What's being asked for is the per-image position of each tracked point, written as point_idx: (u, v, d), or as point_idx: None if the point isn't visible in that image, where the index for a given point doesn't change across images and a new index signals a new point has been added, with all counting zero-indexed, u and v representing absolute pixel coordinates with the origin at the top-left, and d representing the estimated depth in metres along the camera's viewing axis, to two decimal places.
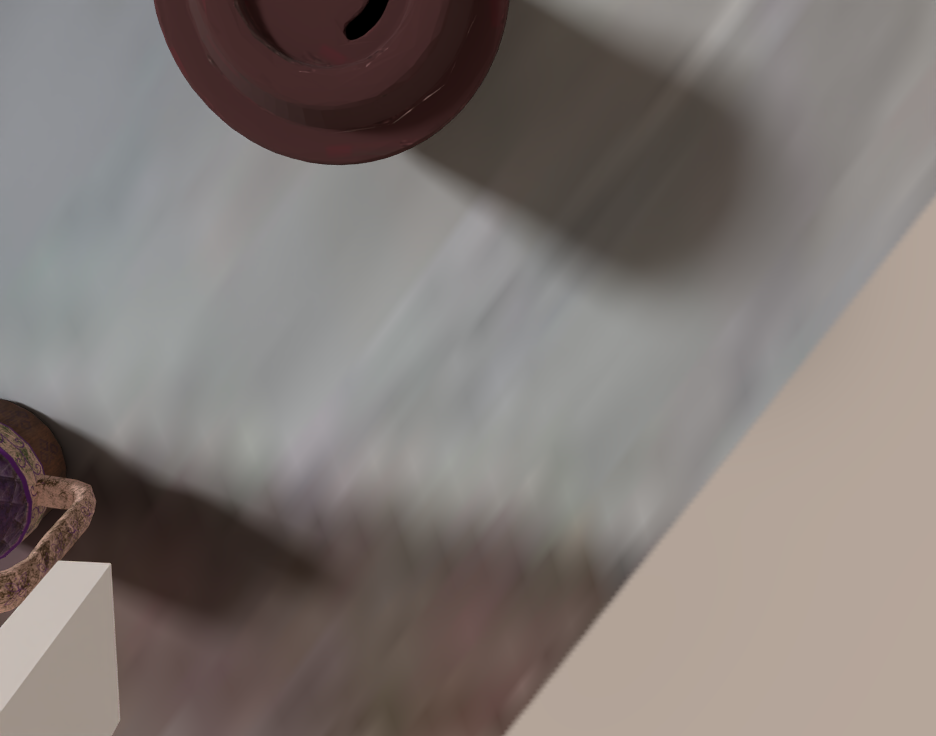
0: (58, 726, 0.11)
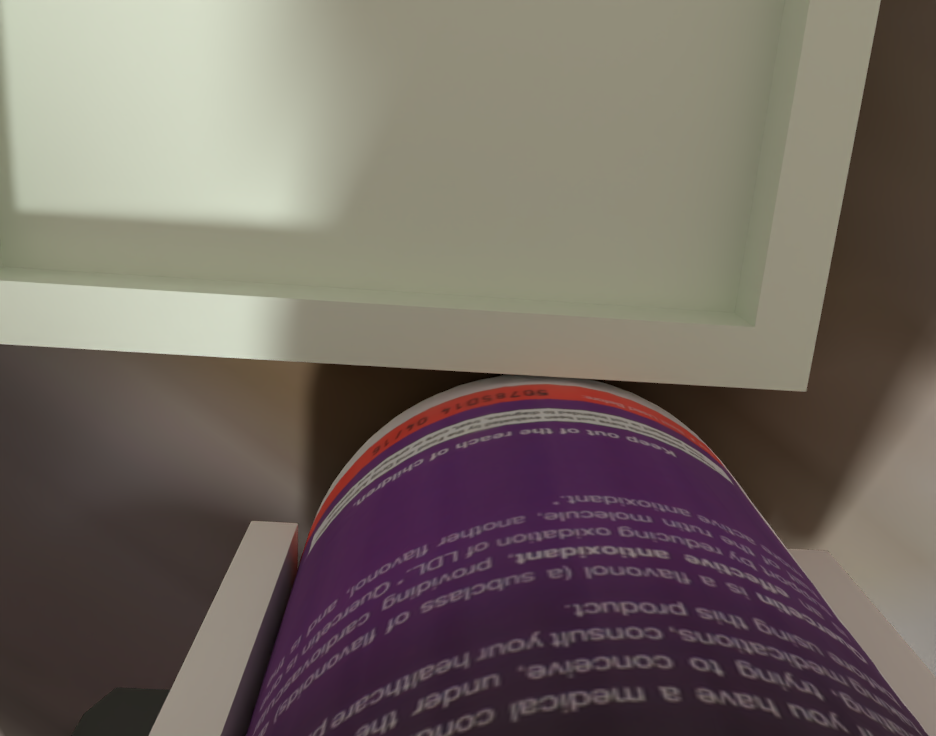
0: None
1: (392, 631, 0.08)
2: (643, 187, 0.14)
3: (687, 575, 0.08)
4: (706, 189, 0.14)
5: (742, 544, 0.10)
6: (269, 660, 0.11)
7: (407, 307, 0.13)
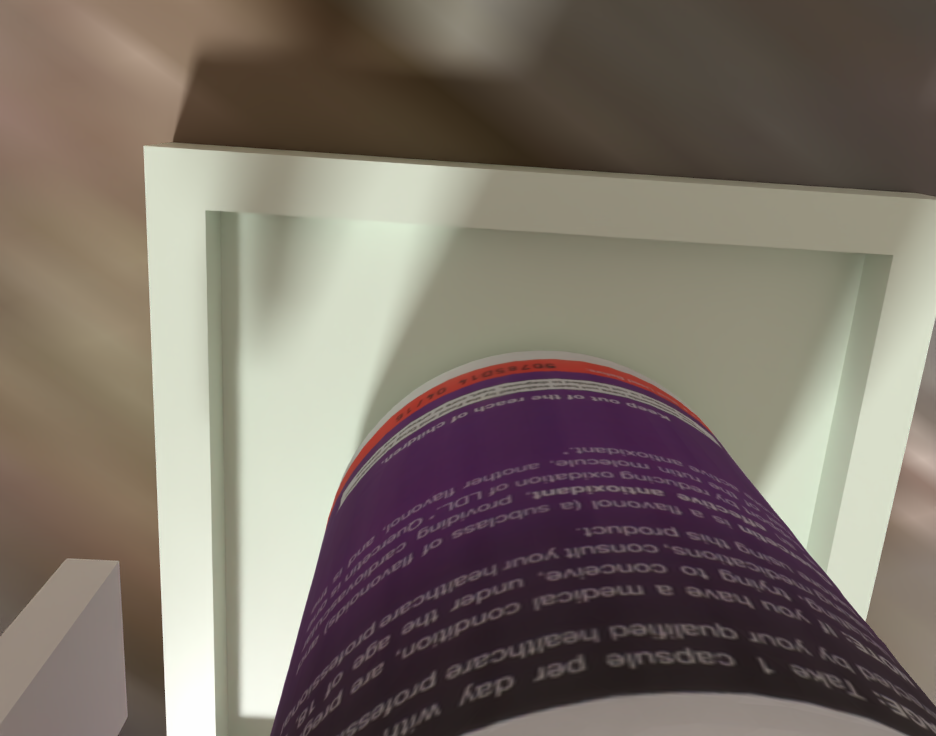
0: (67, 722, 0.11)
1: (428, 554, 0.10)
2: None
3: (680, 508, 0.10)
4: None
5: (727, 490, 0.11)
6: (307, 598, 0.13)
7: None
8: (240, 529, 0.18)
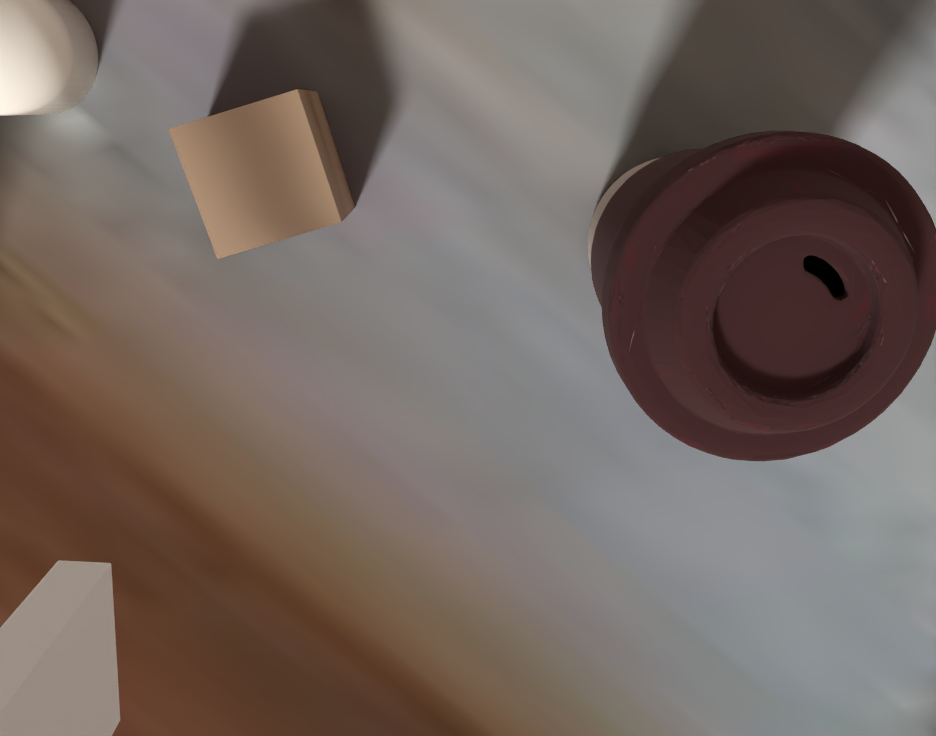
0: (57, 726, 0.11)
1: None
2: None
3: None
4: None
5: None
6: None
7: None
8: None
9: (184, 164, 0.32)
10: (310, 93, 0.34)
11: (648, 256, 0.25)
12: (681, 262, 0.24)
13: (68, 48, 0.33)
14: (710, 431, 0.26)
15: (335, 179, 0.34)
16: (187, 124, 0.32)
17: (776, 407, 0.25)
